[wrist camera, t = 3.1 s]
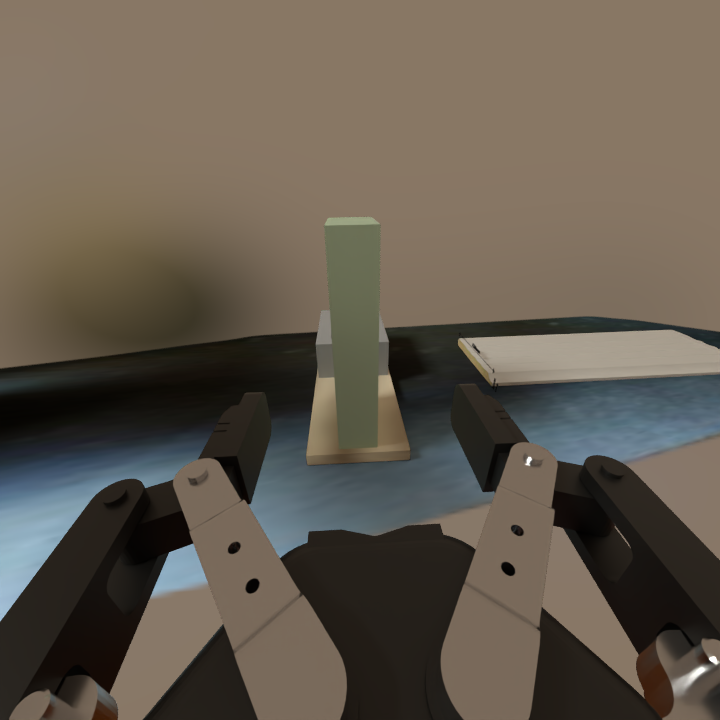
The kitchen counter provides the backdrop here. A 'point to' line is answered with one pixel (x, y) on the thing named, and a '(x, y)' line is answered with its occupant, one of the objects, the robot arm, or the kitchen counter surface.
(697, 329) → the kitchen counter surface
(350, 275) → the slat
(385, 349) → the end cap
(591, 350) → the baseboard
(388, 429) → the board
